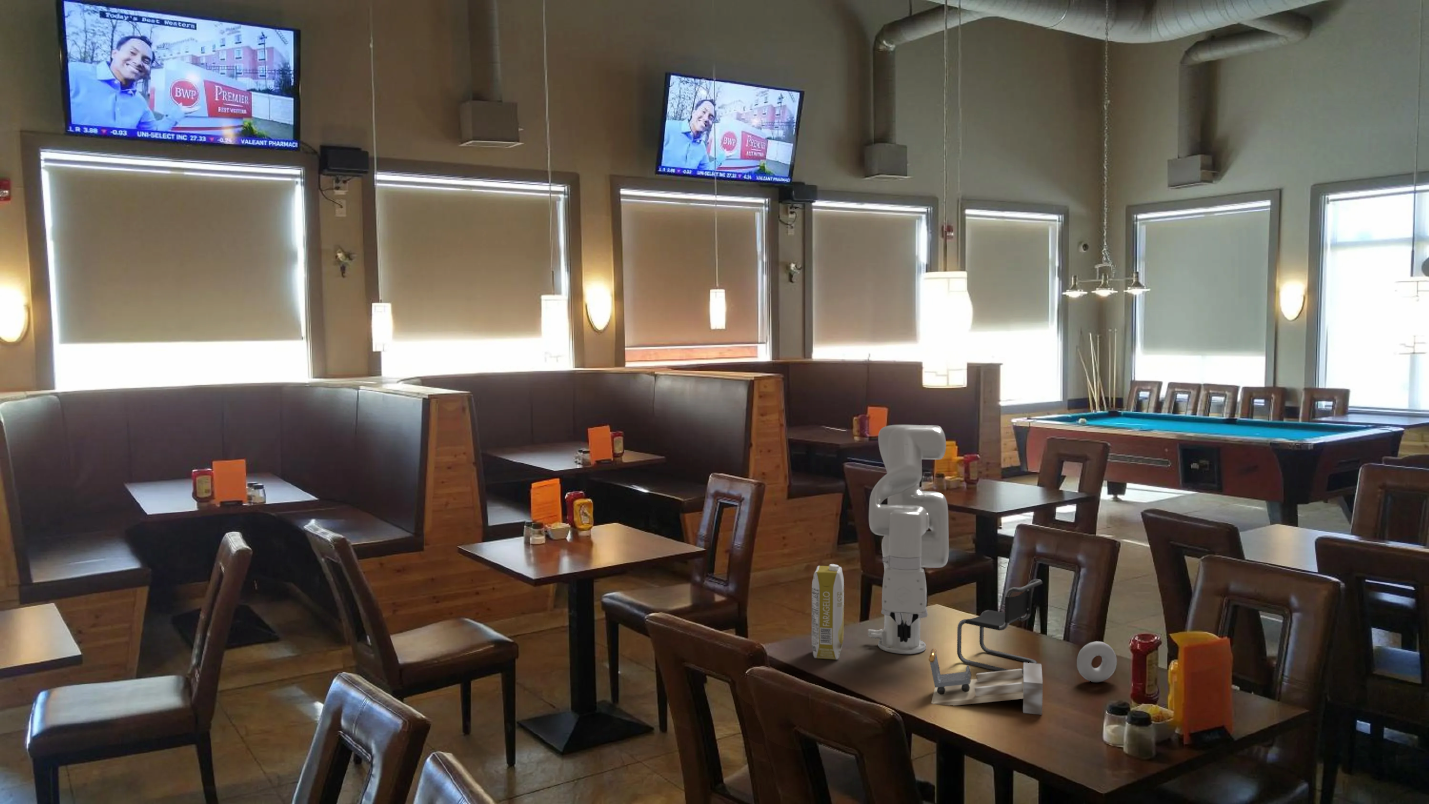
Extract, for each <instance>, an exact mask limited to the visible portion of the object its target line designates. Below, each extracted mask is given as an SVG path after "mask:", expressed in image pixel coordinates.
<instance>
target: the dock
mask: <svg viewBox="0 0 1429 804" xmlns="http://www.w3.org/2000/svg"><path fill="white" fill-rule="evenodd" d="M1022 662H1023V666H1022V668H1017V669H1016V668H1014V669H1008V670H1004V671H988V672H987V671H986V672H977V673H976V674H975V676H976V678H971V682H970V684H968V685H969V686H970V689H969V691H968V692H964V691H962V685H955V686H945V687H944V688H945V693H944V694H943V695H940V694H938V692H937V688H938V687H936V688H935V687H934V690H933V695H932V700H931V703H930V704H933V705H943V706H950V705H953V706H961V705H971V704H972V705H974V704H982V703H992V702H1001V701H1002V702H1003V701H1011V700H1012V701H1013V700H1020V699H1021V700H1022V712H1023V714H1031V715H1032V714H1033V715H1041V716H1042V715H1043V687H1044V686H1043V683H1044V682H1043V681H1044V680H1043V670H1042V667H1043V666H1042V663H1038V664H1036V663H1028V662H1024V661H1022ZM1022 669H1023V674H1022Z"/></svg>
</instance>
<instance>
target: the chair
mask: <svg viewBox="0 0 1429 804" xmlns="http://www.w3.org/2000/svg"><path fill="white" fill-rule="evenodd" d="M1040 585H1043V581H1042V580H1041V579H1038V578H1035V579H1032V580H1030V581H1029V582H1028V583H1027V584H1026V585H1025V586H1021V587H1017V586H1016V587H1010V588H1008V590H1006V593H1005V596H1004V612H1002V611H998V610H991V609H987V610H984V611H982V613H981V614H980V615H979V616H976V617H972V618H967V619H966V618H963V619H962V620H960V621H959V622H958V623H957V627H956V628H957V630H956V654H957V658H958V659H959V660H960V662H962V663H964V664H965V665H968V666H974V667H978V668H981V667H982V669H986V670H989V671H990V670H991V671H993V672H995V671H1004V670H1009V669H1008V668H1004V667H1000V666H995V665H991V664H987V663H982V662H978V661H974V660H969V659H966V658H965V657H964V656H963V654H962V635H963V634H962V631H963V630H962V629H963V625H965V624H966V625H971V626H976V627H979V641H978V642H979V645H980V646H979V647H980V648H981V649H982V650H983V652H984V653H987V654H991V655H995V656H999V657H1003V658H1007V659H1011V658H1012V660H1015V659H1016V661H1021V662H1025V663H1028V662H1029V663H1036V664H1039V663H1038V661H1036V660H1035V659H1033V658H1029V657H1024V656H1019V655H1015V654H1011V653H1007V652H1003V651H997V650H993V649H990V648H988V647H986V645H985V643H984V640H985V639H984V638H985V637H984V636H985V635H984V634H985V633H984V630H985V628H986V629H990V630H995V631H1003V630H1006V629H1007V628H1008V627H1009V625H1010V624H1012V623H1014V622H1016V621H1020V622H1023V621H1026V620H1028V619H1029V618H1030V617H1031V615H1032V594H1033V593H1032V589H1033V588H1035V587H1038V586H1040ZM1014 592H1015V593H1020V594H1018V595H1016V596H1011V594H1013V593H1014ZM1021 669H1022V674H1023V668H1021Z"/></svg>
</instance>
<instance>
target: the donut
mask: <svg viewBox="0 0 1429 804" xmlns="http://www.w3.org/2000/svg"><path fill="white" fill-rule="evenodd" d="M1097 656H1100V657H1101V663H1100V665H1099V666H1098V667H1093V665H1092V662H1093V660H1094V658H1095V657H1097ZM1117 664H1118V660H1117V655H1116V653H1115V651H1114V649H1113V648H1112V646H1110V645H1109V644H1107V643H1105V642H1103V641H1099V640H1098V641H1097V640H1096V641H1091V642H1088V643H1086V644H1085V645H1084V646H1083V647H1082V648H1081V649H1080V650H1079V652H1078V655H1077V658H1076V667H1077V668H1076V669H1077V670H1078V673H1079V675H1081V677H1083V679H1084V680H1087V681H1089V682H1090V681H1091V682H1092V683H1101V682H1105V681H1106V680H1108V679H1109V678H1111V676H1112V675H1113V674H1114V672H1115V671H1116V668H1117ZM1091 682H1090V683H1091Z"/></svg>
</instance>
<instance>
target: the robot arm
mask: <svg viewBox="0 0 1429 804" xmlns="http://www.w3.org/2000/svg"><path fill="white" fill-rule="evenodd" d="M877 440H878V447H879V448H878V449H879V452H880V456H881V459H882V461H883V465H884V467H885V470H886V474H885V475H883V476H882V477H881V478H880V479H879V480H878V482H877V483H876V484H875V485H874V487H873V488H872V490H871V492H870V496H869V502H868V503H869V505H868V524H869V528H870V529H869V530H870V531H871V533H873V534H874V535H877V536H883V537H882V539H881V551H882V563H883V568H884V569H883V570H884V572H883V578H882V579H883V580H882V590H881V593H882V594H881V611H880V613H881V614H882V615H884V623H883V624H884V625H883V626H884V627H883V628H880V629H879V630H878V629H873V628H872V629H871V628H869V629H867V636H868V637H870V639H879V640H878V642H877V645H878V647H879V649H880V650H883V651H885V652H888V653H893V654H899V655H913V654H920V653H923V652H924V651H926V649H927V644H926V642H924V641H923V640H922V639H921V619H923V618H924V619H925V618H928V616H929V615H928V609H927V604H928V597H927V596H928V592H927V580H926V574H925V573H926V572H925V569H924V568H930V569H931V568H933V569H935V568H938V569H939V568H943V567H945V566H946V565H947V563H948V560H949V554H950V549H949V548H950V545H949V544H950V543H949V538H950V536H949V507H948V501H947V498H946V496H945V495H944V494H942V492H938V491H930V490H929V491H928V490H927V491H926V490H925V491H922V490H921V489H920V482H922V479H923V467H922V466H923V465H922V463H923V461H922V460H932V461H933V460H936V461H938V460H942V459H943V458H944V456H945V454H946V451H947V449H946V448H947V441H946V434H945V432H944V430H943V429H942V427H941V426H939V425H933V424H931V425H930V424H928V425H926V424H925V425H924V424H920V425H919V424H892V425H891V424H890V425H885V426H884V427H881V429H880V430H879V432H878V437H877ZM886 499H887V504H882V503H883V502H884V500H886ZM929 529H930V531H928V530H929Z"/></svg>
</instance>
